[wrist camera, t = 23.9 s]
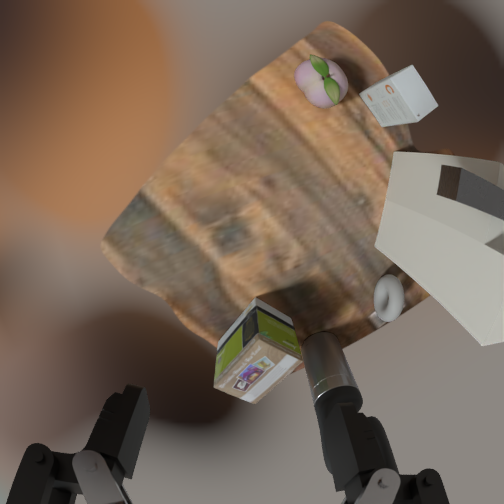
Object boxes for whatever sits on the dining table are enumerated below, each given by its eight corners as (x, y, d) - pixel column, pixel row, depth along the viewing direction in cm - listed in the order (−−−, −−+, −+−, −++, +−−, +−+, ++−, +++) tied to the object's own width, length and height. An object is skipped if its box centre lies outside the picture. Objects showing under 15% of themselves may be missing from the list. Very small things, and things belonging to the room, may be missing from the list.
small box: (401, 113, 42) (439, 106, 30) (381, 128, 44) (418, 123, 32) (379, 80, 40) (413, 63, 28) (357, 93, 42) (388, 78, 29)
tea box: (253, 359, 62) (254, 406, 48) (217, 340, 60) (210, 388, 46) (293, 317, 57) (304, 363, 44) (255, 294, 55) (257, 339, 42)
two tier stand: (374, 246, 52) (482, 346, 20) (393, 151, 45) (536, 169, 13) (423, 254, 53) (525, 336, 21) (442, 169, 46) (568, 203, 14)
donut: (380, 306, 57) (398, 330, 48) (367, 307, 57) (384, 332, 48) (390, 266, 54) (412, 287, 44) (377, 266, 54) (398, 287, 44)
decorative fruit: (346, 99, 42) (367, 88, 33) (311, 118, 44) (327, 110, 34) (318, 59, 39) (333, 40, 30) (282, 77, 41) (290, 60, 32)
